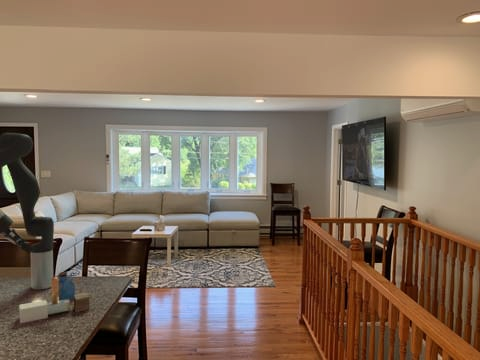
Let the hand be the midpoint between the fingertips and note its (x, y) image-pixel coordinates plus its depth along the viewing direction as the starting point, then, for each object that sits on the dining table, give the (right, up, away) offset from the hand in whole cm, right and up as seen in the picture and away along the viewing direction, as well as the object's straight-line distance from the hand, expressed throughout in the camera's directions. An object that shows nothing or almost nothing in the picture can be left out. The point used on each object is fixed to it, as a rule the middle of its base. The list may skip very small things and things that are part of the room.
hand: (28, 250), depth 137 cm
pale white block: (+2, -26, +1) cm, 26 cm away
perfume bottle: (+5, -25, +18) cm, 32 cm away
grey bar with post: (+5, -25, +3) cm, 26 cm away
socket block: (+16, -26, +10) cm, 32 cm away
